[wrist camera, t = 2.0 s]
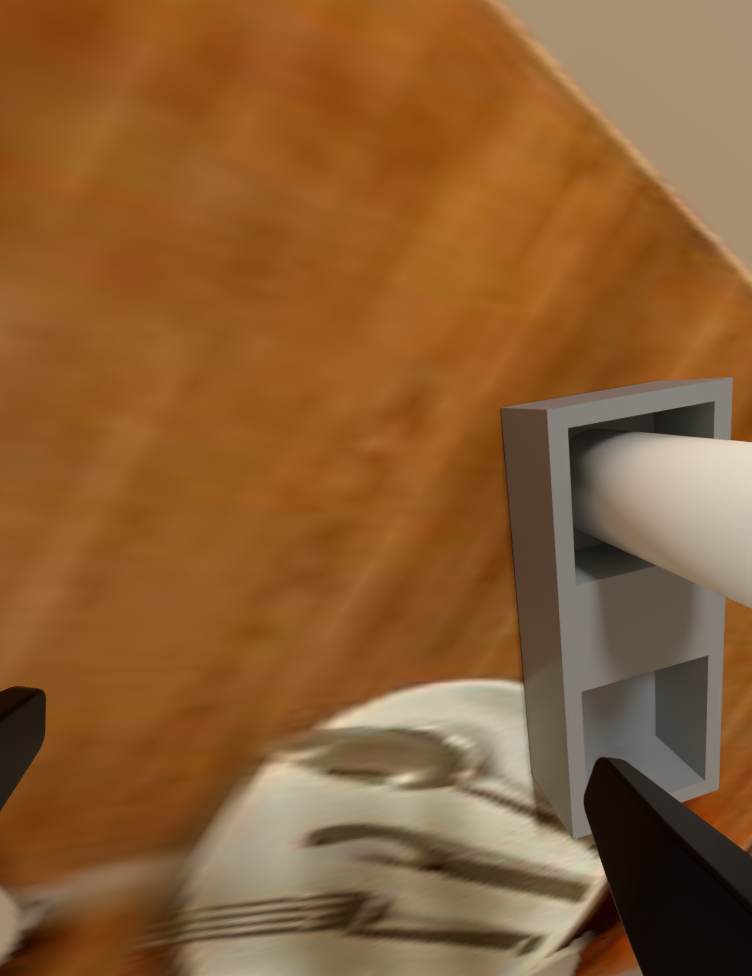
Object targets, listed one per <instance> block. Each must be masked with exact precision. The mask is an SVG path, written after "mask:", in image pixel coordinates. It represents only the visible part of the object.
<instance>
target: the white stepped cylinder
mask: <svg viewBox="0 0 752 976" xmlns="http://www.w3.org/2000/svg"><path fill="white" fill-rule="evenodd" d="M569 461H570V480H571V500H572V519H573V528H575V529H577V530H579V531H581V532H584V533H586V534H588V535H590V536H592V537H595V538H597V539H599V540H601V541H604V542H606V543H608V544H610V545H612V546H615V547H617V548H619V549H621V550H623V551H626V552H628V553H630V554H632V555H634V556H637V557H639V558H641V559H643V560H645V561H648V562H650V563H652V564H654V565H656V566H659V567H661V568H663V569H665V570H667V571H670V572H672V573H674V574H676V575H678V576H681V577H683V578H685V579H687V580H689V581H692V582H694V583H696V584H698V585H701V586H703V587H705V588H707V589H709V590H712V591H714V592H716V593H718V594H720V595H723V596H725V597H727V598H729V599H731V600H734V601H736V602H738V603H740V604H742V605H745V606H747V607H749V608H751V609H752V442H742V441H731V440H720V439H710V438H699V437H688V436H678V435H667V434H657V433H646V432H635V431H625V430H614V429H604V428H598V429H591V430H587V431H584V432H582V433H580V434H578V435H576V436H575V437H573V438H572V439H570V440H569Z"/></svg>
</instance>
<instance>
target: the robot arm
mask: <svg viewBox="0 0 752 976" xmlns="http://www.w3.org/2000/svg"><path fill="white" fill-rule="evenodd" d="M45 716H46V695H45V693H44V691H43V690H41V689H38V688H30V687H22V686H14V687H11V688H8V689H6V690H3V691H1V692H0V811H1V810H2V808H3V807H4V805H5V804H6V802H7V800H8V799H9V797H10V796H11V794H12V793H13V791H14V789H15V788H16V786H17V785H18V783H19V782H20V780H21V779H22V777H23V775H24V774H25V772H26V771H27V769H28V768H29V766H30V764H31V763H32V761H33V760H34V758H35V757H36V755H37V753H38V752H39V750H40V748H41V746H42V743H43V740H44V736H45ZM583 802H584V810H585V814H586V817H587V820H588V823H589V826H590V829H591V832H592V835H593V838H594V841H595V844H596V847H597V850H598V853H599V856H600V859H601V862H602V865H603V868H604V871H605V874H606V877H607V880H608V883H609V886H610V889H611V892H612V895H613V899H614V902H615V905H616V907H617V910H618V913H619V916H620V919H621V921H622V924H623V927H624V929H625V932H626V934H627V937H628V940H629V942H630V945H631V947H632V950H633V952H634V954H635V957H636V959H637V962H638V964H639V966H640V969H641V971H642V974H643V976H752V856H750V855H749V854H748V853H746V852H745V851H744V850H742V849H741V848H740V847H739V846H737V845H736V844H735V843H733V842H732V841H731V840H729V839H728V838H727V837H725V836H724V835H723V834H721V833H720V832H719V831H718V830H716V829H715V828H714V827H712V826H711V825H710V824H708V823H707V822H706V821H704V820H703V819H702V818H700V817H699V816H698V815H696V814H695V813H694V812H693V811H691V810H690V809H689V808H687V807H686V806H685V805H683V804H682V803H681V802H679V801H678V800H677V799H675V798H674V797H673V796H671V795H670V794H669V793H668V792H666V791H665V790H664V789H662V788H661V787H660V786H658V785H657V784H656V783H654V782H653V781H652V780H650V779H649V778H648V777H646V776H645V775H644V774H643V773H641V772H640V771H639V770H637V769H636V768H635V767H633V766H632V765H631V764H629V763H628V762H627V761H625V760H623V759H619V758H610V757H599V758H598V759H597V760H596V761H595V763H594V766H593V769H592V772H591V775H590V778H589V781H588V784H587V787H586V789H585V792H584V799H583Z"/></svg>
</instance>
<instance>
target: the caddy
mask: <svg viewBox="0 0 752 976" xmlns="http://www.w3.org/2000/svg"><path fill="white" fill-rule="evenodd" d="M732 381H733V377H728V378H708V379H687V380H667V381H655V382H649V383H643V384H637V385H631V386H626V387H620V388H614V389H608V390H602V391H596V392H590V393H585V394H579V395H573V396H567V397H561V398H555V399H550V400H544V401H538V402H532V403H526V404H520V405H515V406H509V407H503V408H501V416H502V428H503V440H504V451H505V463H506V475H507V487H508V499H509V510H510V522H511V534H512V546H513V558H514V569H515V581H516V593H517V605H518V616H519V628H520V640H521V652H522V664H523V675H524V687H525V699H526V711H527V722H528V734H529V746H530V758H531V770H532V776H533V778H534V780H535V781H536V783H537V784H538V786H539V787H540V789H541V790H542V792H543V794H544V795H545V797H546V798H547V800H548V801H549V803H550V804H551V806H552V808H553V809H554V811H555V812H556V814H557V815H558V817H559V818H560V820H561V821H562V823H563V825H564V826H565V828H566V829H567V831H568V832H569V834H570V835H571V837H572V839H573V840H574V839H577V838H579V837H582V836H585V835H588V834H591V833H592V832H591V829H590V826H589V823H588V820H587V817H586V814H585V810H584V802H583V799H584V792H585V789H586V787H587V784H588V781H589V778H590V775H591V772H592V769H593V766H594V763H595V761H596V760H597V759H598V758H599V757H610V758H619V759H623V760H625V761H627V762H628V763H629V764H631V765H632V766H633V767H635V768H636V769H637V770H639V771H640V772H641V773H643V774H644V775H645V776H646V777H648V778H649V779H650V780H652V781H653V782H654V783H656V784H657V785H658V786H660V787H661V788H662V789H664V790H665V791H666V792H668V793H669V794H670V795H671V796H673V797H674V798H675V799H677V800H678V801H679V802H684V801H686V800H689V799H692V798H695V797H698V796H701V795H704V794H707V793H710V792H712V791H715V790H718V789H719V767H720V738H721V708H722V678H723V648H724V619H725V596H723V595H720V594H718V593H716V592H714V591H712V590H709V589H707V588H705V587H703V586H701V585H698V584H696V583H694V582H692V581H689V580H687V579H685V578H683V577H681V576H678V575H676V574H674V573H672V572H670V571H667V570H665V569H663V568H661V567H659V566H656V565H654V564H652V563H650V562H648V561H645V560H643V559H641V558H639V557H637V556H634V555H632V554H630V553H628V552H626V551H623V550H621V549H619V548H617V547H615V546H612V545H610V544H608V543H606V542H604V541H601V540H599V539H597V538H595V537H592V536H590V535H588V534H586V533H584V532H581V531H579V530H577V529H575V528H573V519H572V500H571V480H570V461H569V440H570V439H572V438H573V437H575V436H576V435H578V434H580V433H582V432H584V431H587V430H591V429H598V428H604V429H614V430H625V431H635V432H646V433H657V434H667V435H678V436H688V437H699V438H710V439H720V440H731V411H732Z"/></svg>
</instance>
